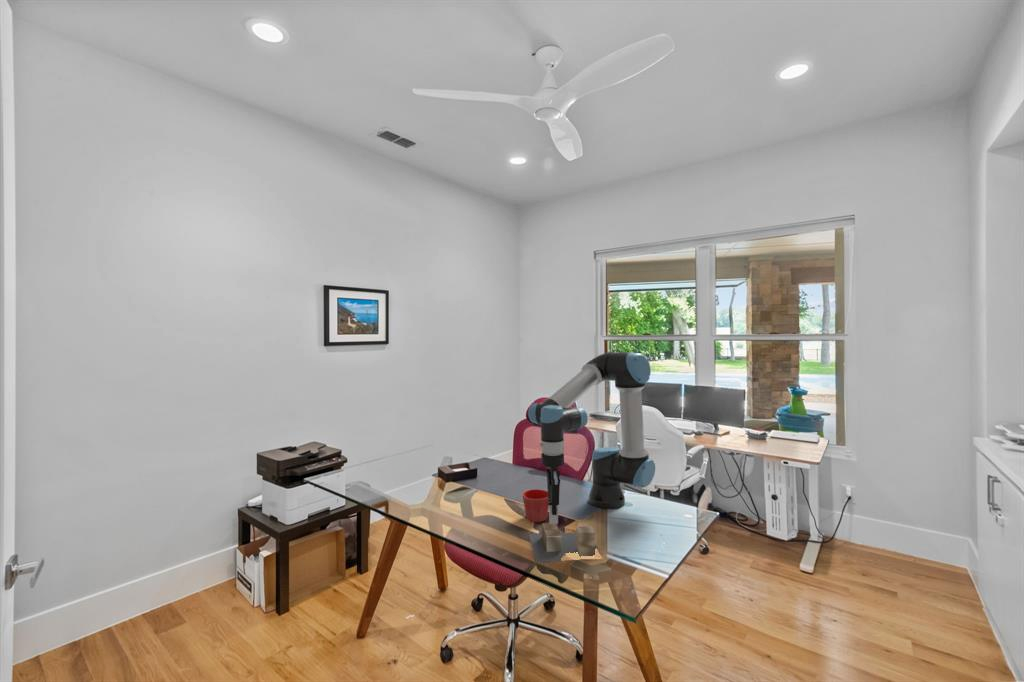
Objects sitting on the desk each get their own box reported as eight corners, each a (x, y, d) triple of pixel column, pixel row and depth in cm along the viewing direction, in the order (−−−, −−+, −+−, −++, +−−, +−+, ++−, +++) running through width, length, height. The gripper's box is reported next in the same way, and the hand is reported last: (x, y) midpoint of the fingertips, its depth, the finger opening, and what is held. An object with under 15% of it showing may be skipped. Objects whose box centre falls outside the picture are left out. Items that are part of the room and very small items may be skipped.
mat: (588, 532, 166) (588, 531, 166) (603, 559, 147) (603, 558, 147) (528, 535, 165) (528, 534, 165) (536, 563, 145) (536, 562, 145)
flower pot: (549, 524, 174) (548, 499, 174) (520, 522, 176) (520, 497, 176) (552, 513, 184) (551, 489, 184) (525, 512, 186) (525, 488, 186)
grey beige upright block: (591, 549, 153) (590, 525, 153) (595, 556, 148) (594, 532, 148) (576, 550, 152) (576, 526, 152) (579, 557, 147) (579, 533, 147)
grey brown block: (561, 551, 152) (555, 536, 163) (561, 536, 152) (555, 522, 163) (546, 552, 152) (542, 537, 163) (546, 537, 152) (541, 523, 162)
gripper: (538, 448, 158) (539, 515, 158) (544, 458, 145) (545, 532, 145) (560, 447, 158) (561, 514, 159) (567, 457, 145) (568, 530, 146)
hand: (553, 522), depth 152 cm, fingers closed
